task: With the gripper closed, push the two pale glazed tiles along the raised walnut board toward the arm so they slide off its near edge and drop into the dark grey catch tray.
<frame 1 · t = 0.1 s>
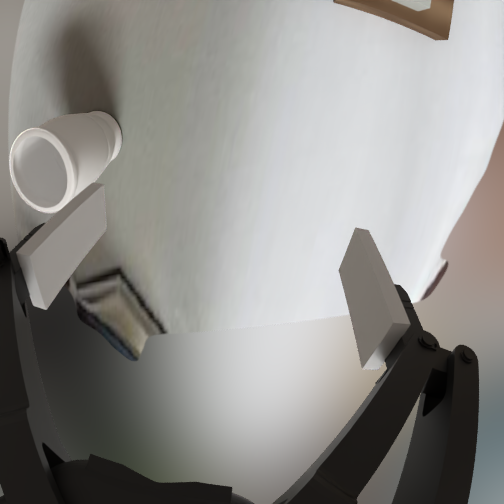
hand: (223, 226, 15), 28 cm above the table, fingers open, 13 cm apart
jar: (99, 136, 40), on the table
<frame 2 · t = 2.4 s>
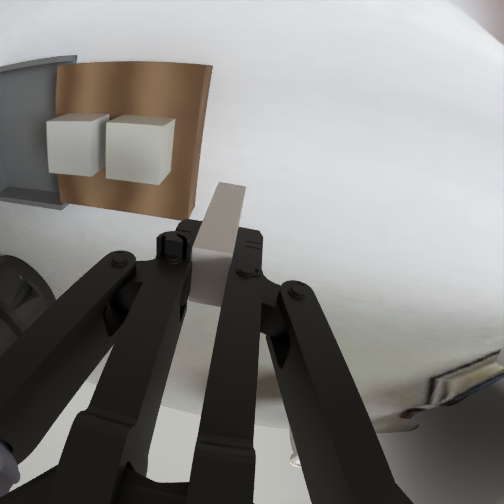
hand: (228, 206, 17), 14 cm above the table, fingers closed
tile b: (146, 142, 26), point 3 cm above the table, touching board
catch tray: (33, 128, 28), on the table
board: (132, 131, 29), on the table
tile a: (86, 138, 26), point 3 cm above the table, touching board
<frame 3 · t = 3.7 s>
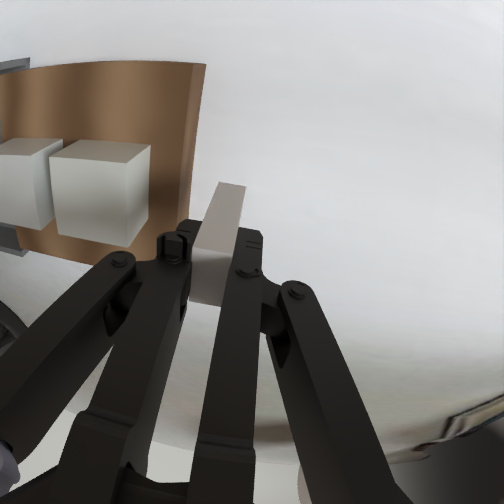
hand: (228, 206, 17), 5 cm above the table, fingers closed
tile b: (113, 178, 18), point 3 cm above the table, touching board
board: (99, 158, 21), on the table
jar: (329, 429, 43), on the table
tile a: (38, 171, 18), point 3 cm above the table, touching board
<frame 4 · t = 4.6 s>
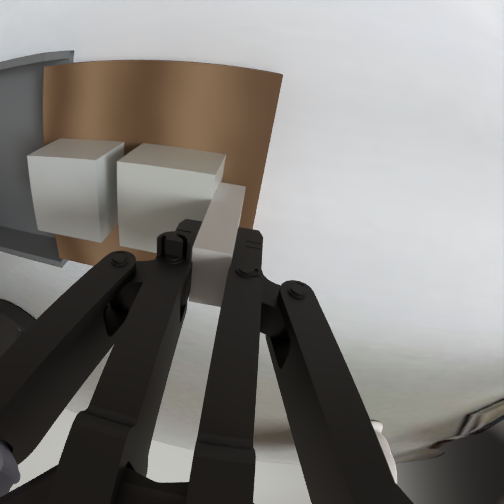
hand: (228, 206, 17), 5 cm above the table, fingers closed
tile b: (179, 187, 18), point 4 cm above the table, touching gripper
catch tray: (19, 153, 20), on the table
board: (156, 163, 21), on the table
jar: (357, 429, 43), on the table
tile a: (90, 176, 18), point 3 cm above the table, touching board
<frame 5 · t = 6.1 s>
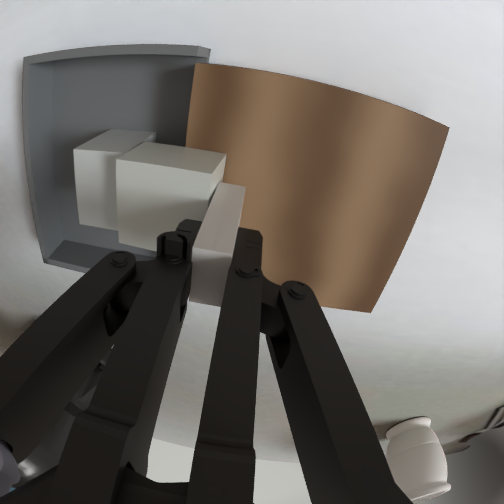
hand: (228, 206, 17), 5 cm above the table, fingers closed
tile b: (180, 186, 18), point 3 cm above the table, touching board, gripper
catch tray: (115, 159, 21), on the table
board: (300, 187, 22), on the table
jar: (407, 425, 44), on the table
tile a: (141, 178, 19), point 3 cm above the table, tilted 90°, touching catch tray
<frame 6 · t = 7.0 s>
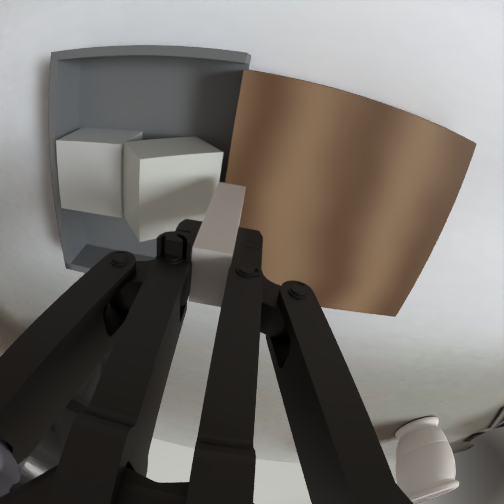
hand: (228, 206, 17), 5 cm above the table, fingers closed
tile b: (158, 174, 19), point 2 cm above the table, tilted 40°, touching catch tray, tile a
catch tray: (146, 163, 21), on the table
board: (333, 195, 22), on the table
jar: (416, 425, 44), on the table
tile a: (87, 178, 18), point 4 cm above the table, tilted 180°, touching catch tray, tile b
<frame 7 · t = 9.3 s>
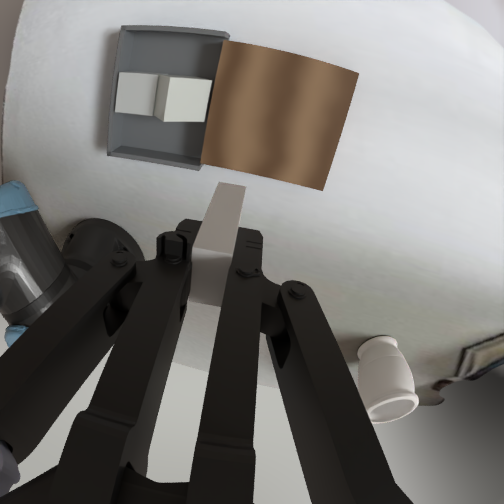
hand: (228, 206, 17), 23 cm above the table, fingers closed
tile b: (175, 95, 32), point 2 cm above the table, tilted 40°, touching catch tray, tile a
catch tray: (167, 92, 34), on the table
board: (276, 111, 35), on the table
jar: (376, 347, 58), on the table
tile a: (135, 93, 31), point 4 cm above the table, tilted 180°, touching catch tray, tile b
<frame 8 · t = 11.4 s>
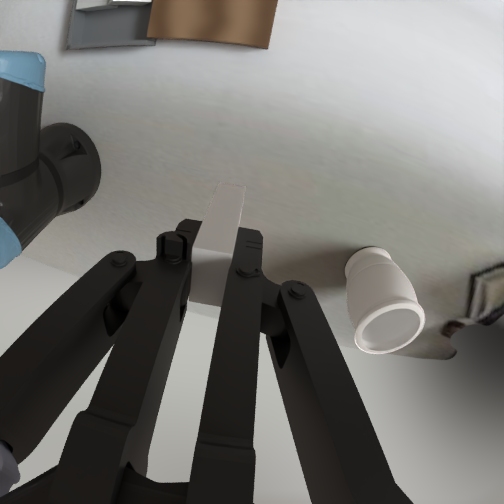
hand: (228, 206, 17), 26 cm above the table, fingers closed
jar: (367, 265, 51), on the table
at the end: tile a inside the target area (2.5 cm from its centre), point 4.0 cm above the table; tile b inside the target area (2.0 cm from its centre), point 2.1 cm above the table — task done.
